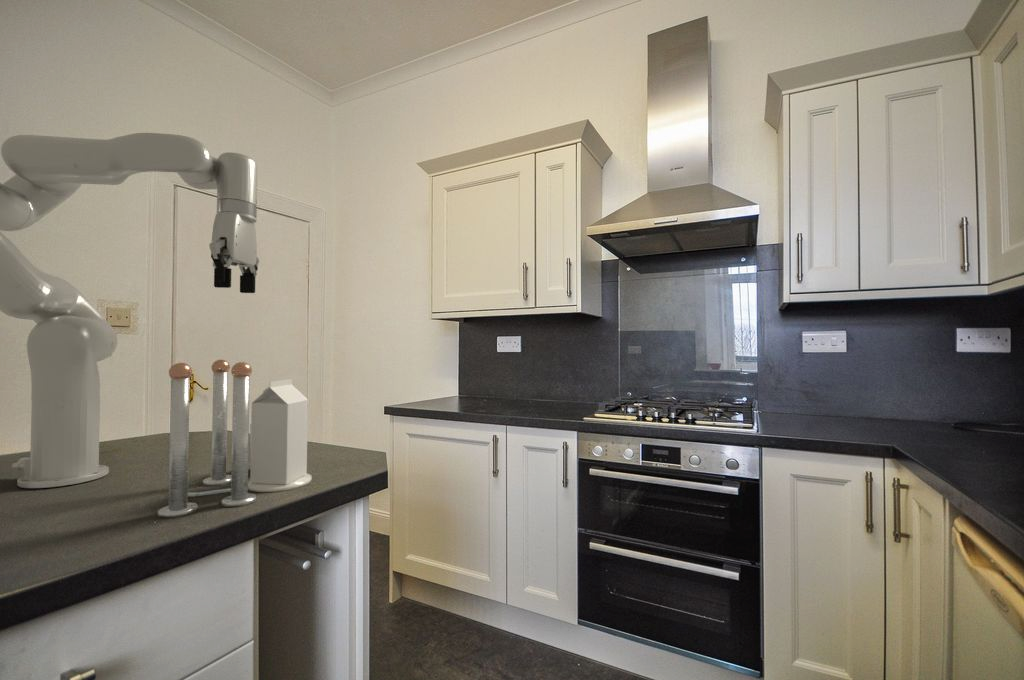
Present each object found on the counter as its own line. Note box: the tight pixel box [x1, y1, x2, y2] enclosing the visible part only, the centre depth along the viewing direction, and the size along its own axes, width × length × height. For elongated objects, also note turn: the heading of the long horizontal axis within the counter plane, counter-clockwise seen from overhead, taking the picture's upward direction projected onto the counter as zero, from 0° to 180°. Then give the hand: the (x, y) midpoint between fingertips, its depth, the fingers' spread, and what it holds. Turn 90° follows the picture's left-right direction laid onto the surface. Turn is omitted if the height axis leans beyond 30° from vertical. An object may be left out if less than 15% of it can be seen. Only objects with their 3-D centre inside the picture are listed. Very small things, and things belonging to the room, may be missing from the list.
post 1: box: [157, 362, 198, 519], centre depth 72 cm, size 5×5×24 cm
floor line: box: [188, 487, 231, 497], centre depth 81 cm, size 11×2×1 cm, turn 112°
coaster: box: [248, 473, 313, 493], centre depth 87 cm, size 11×11×1 cm
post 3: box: [221, 361, 257, 508], centre depth 77 cm, size 5×5×24 cm
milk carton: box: [249, 378, 309, 484], centre depth 88 cm, size 7×7×19 cm
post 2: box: [202, 359, 231, 487], centre depth 88 cm, size 5×5×24 cm
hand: (235, 290), depth 100 cm, fingers open, 9 cm apart
